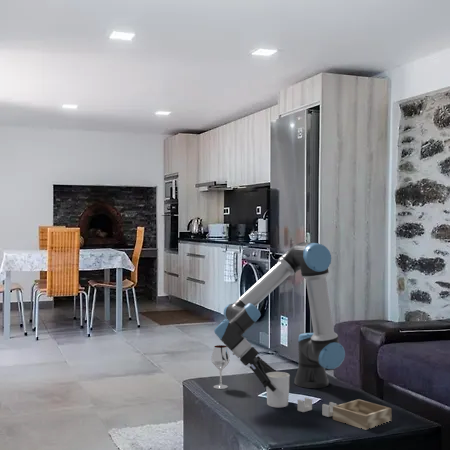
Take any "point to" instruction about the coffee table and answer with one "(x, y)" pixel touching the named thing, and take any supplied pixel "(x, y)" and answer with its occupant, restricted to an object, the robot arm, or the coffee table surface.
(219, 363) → the wineglass
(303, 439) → the coffee table surface
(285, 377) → the candle holder
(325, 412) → the clips
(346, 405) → the square wooden tray
